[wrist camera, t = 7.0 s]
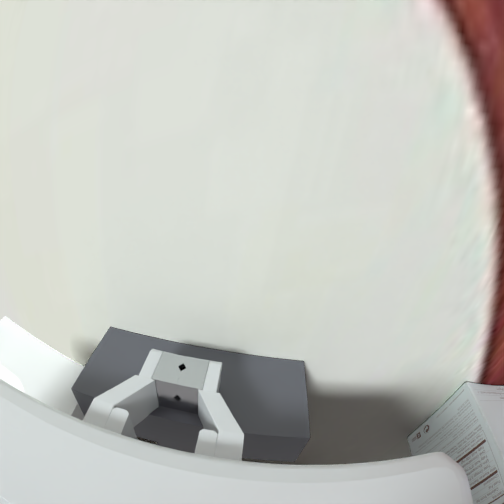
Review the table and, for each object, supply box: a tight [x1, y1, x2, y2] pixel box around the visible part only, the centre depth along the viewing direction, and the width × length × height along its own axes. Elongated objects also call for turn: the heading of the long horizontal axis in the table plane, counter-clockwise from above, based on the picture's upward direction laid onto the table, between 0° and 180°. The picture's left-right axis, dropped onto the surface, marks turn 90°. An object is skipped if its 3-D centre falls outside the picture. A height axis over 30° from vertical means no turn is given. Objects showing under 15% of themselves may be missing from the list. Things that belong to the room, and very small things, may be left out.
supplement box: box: [407, 382, 504, 504], centre depth 11 cm, size 7×7×13 cm
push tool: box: [71, 327, 310, 462], centre depth 16 cm, size 10×20×4 cm, turn 172°
